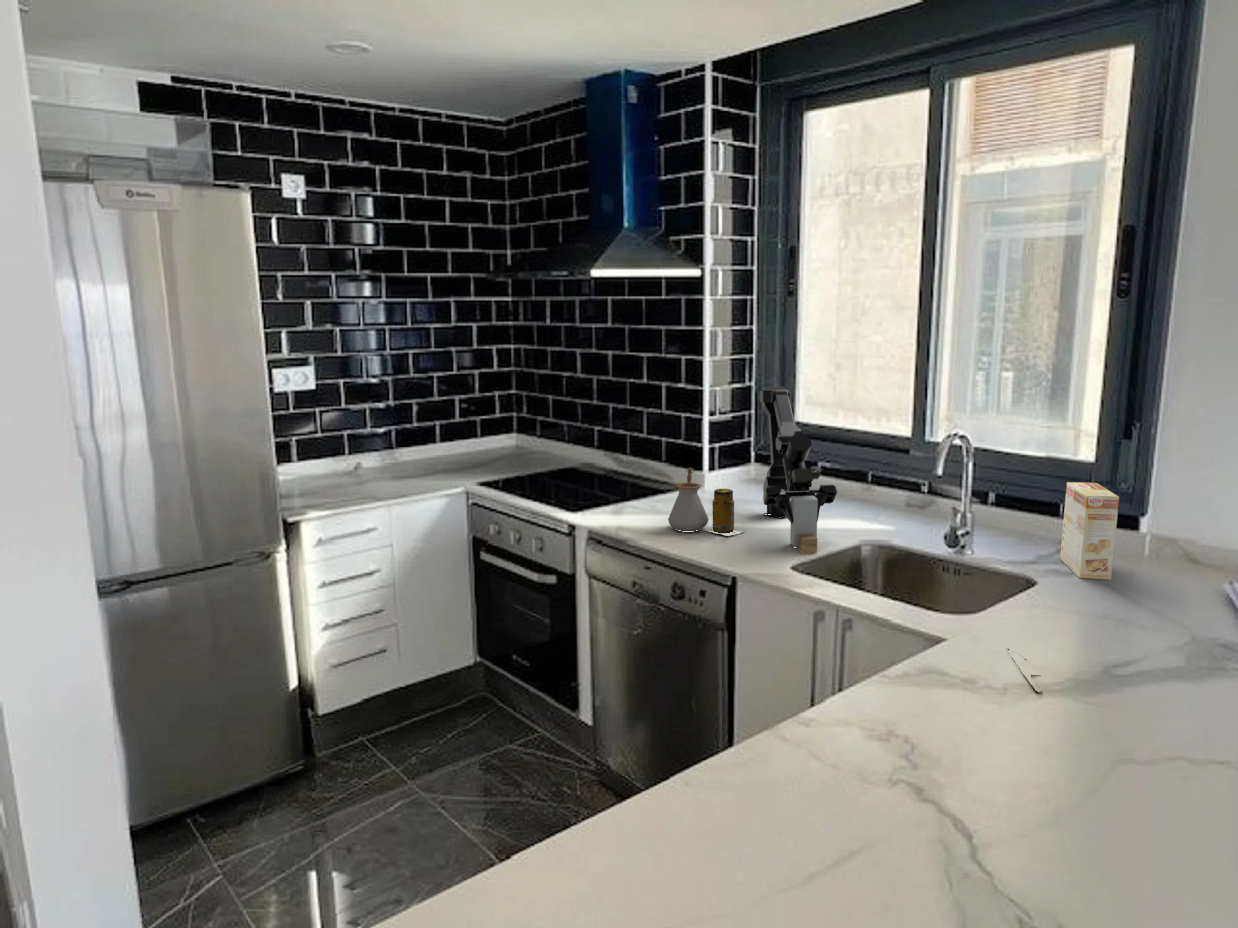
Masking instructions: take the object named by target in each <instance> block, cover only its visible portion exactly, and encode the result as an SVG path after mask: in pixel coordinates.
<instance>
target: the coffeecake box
mask: <svg viewBox="0 0 1238 928" xmlns="http://www.w3.org/2000/svg"><path fill="white" fill-rule="evenodd" d="M1065 488H1066V489H1065V499H1064V501H1065V502H1064V510H1063V511H1064V512H1063V524H1062V533H1061V534H1062V535H1061V547H1060V557H1059V559H1060V560H1061V561H1062V562H1063V563H1064V564H1065V565H1066V566H1067V567H1068V569H1070V570H1071V571H1072V572H1073V573H1074V574H1075V575H1076V577H1078V578H1079V579H1091V580H1107V581H1108V580H1112V573H1113V564H1114V563H1113V562H1114V554H1115V544H1116V533H1117V525H1118V515H1119V514H1118V512H1119V503H1120V496H1118V494H1115V493H1113V492H1112V491H1111V490H1109V489H1107V488H1106V487H1104V486H1102V485H1100V484H1099V483H1097V482H1087V481H1086V482H1085V481H1084V482H1083V481H1082V482H1078V481H1077V482H1070V481H1067V482H1066V487H1065Z"/></svg>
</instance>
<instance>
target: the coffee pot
mask: <svg viewBox="0 0 1238 928" xmlns="http://www.w3.org/2000/svg"><path fill="white" fill-rule="evenodd" d="M692 470H693V471H692ZM686 472H687V476H686V479H687V481H686V482H682V483H678V484H676V487H677V489H678V492H679V493H678V495H677V496H676V498H675V499H676V500H675V502H674V504H673V506H672V508H671V511H670V513H669V516H668V518H667V520H668V523H669V525H670V526H671V527H672V528H673V529H674V530H675V529H677V530H681V531H696V530H700V529H702V530H703V528H705V527H706V526H707V525H708V523H709V519H710V518H709V517H708V514H707V512H706V510H705V508H704V506H703V505H704V504H703V503H702V500H701V498H700V496H699V494H698V491H699V490H700V488H701V484H699V483H695V482H692V477H693V476H692V474H693V473H694V472H695V469H694V468H693V467H691V466H690V467H688V468H687V469H686Z"/></svg>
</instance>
